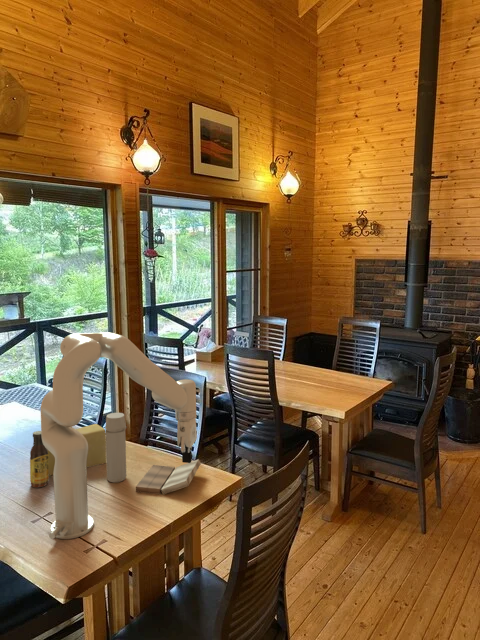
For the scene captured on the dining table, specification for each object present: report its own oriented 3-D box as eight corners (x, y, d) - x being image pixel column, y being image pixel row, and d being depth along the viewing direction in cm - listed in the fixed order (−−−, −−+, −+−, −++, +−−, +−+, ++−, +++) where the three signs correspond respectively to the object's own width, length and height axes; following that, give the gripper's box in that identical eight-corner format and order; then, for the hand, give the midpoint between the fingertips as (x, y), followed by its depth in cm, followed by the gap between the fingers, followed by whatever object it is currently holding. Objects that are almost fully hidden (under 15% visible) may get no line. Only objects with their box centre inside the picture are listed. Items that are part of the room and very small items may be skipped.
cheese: (52, 480, 179) (50, 441, 177) (43, 471, 187) (41, 434, 185) (107, 463, 193) (106, 428, 191) (97, 456, 201) (96, 421, 199)
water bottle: (122, 484, 176) (120, 419, 173) (102, 482, 178) (100, 417, 174) (132, 473, 185) (131, 411, 182) (113, 471, 186) (112, 410, 183)
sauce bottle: (35, 490, 171) (32, 437, 169) (27, 484, 175) (24, 433, 173) (52, 484, 176) (50, 432, 173) (44, 478, 180) (42, 428, 178)
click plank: (188, 485, 167) (185, 480, 167) (163, 494, 169) (161, 489, 169) (200, 463, 185) (198, 459, 184) (178, 471, 187) (176, 467, 186)
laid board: (159, 494, 169) (159, 488, 169) (135, 491, 171) (135, 486, 170) (174, 471, 187) (174, 466, 187) (153, 469, 188) (152, 464, 188)
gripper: (190, 421, 165) (191, 471, 167) (201, 407, 179) (202, 453, 182) (169, 420, 166) (171, 470, 169) (181, 406, 181) (183, 452, 183)
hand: (187, 461), depth 175 cm, fingers closed
